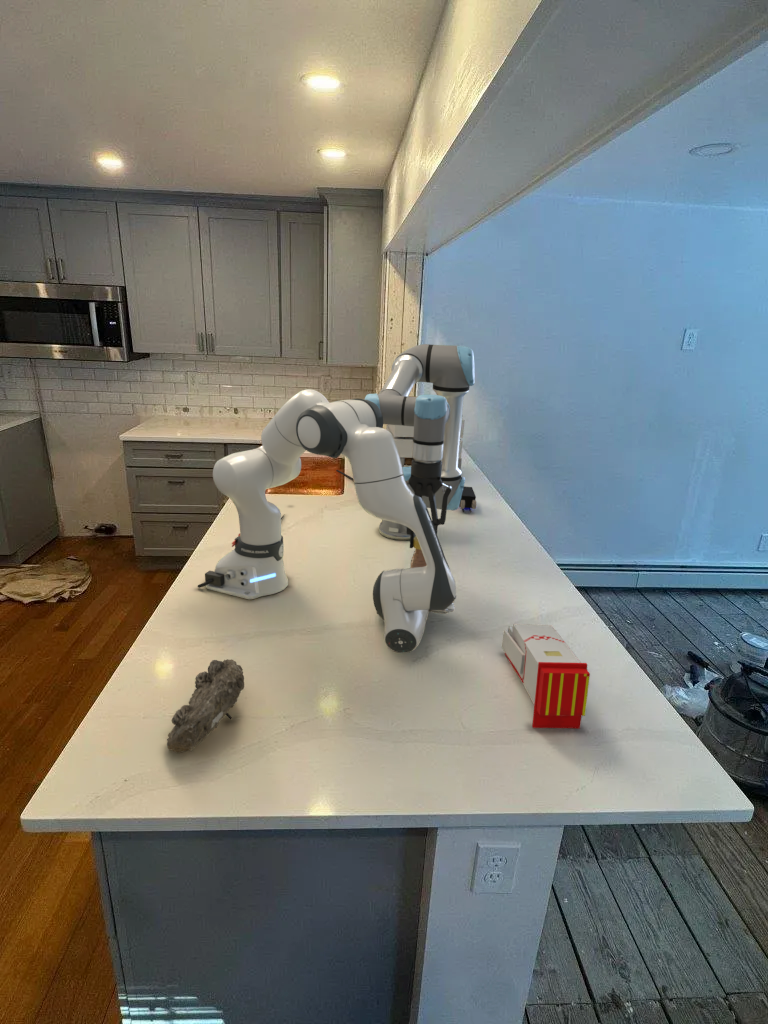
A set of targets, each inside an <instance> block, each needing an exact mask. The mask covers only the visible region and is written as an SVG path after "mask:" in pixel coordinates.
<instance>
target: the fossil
mask: <svg viewBox="0 0 768 1024" xmlns="http://www.w3.org/2000/svg"><path fill="white" fill-rule="evenodd" d="M243 670H244V669H243V667H242V665H240V664H237V662H236V661H235V660H234V659H232V658H231V659H227V658H226V659H224V660H223V661H222V660H217V659H212V660H211V661H210V663H209V665H208V666H207V671H201V672H199V673H198V674H197V675H196V676H195V680H194V684H195V685H194V687H195V689H194V690H193V693H192V694H191V697H190V698H189V700H188V704H184V705H182V706H181V707H180V709H177V710H176V711H175V713H174V715H173V716H172V718H171V723H172V724H173V727H172V730H171V731H170V732H168V734H167V738H166V741H167V742H166V745H167V749H168V750H169V751H173V752H174V753H176V754H178V753H182V752H188V751H189V752H192V751H193V750H195V748H196V747H197V746H199V744H200V743H201V742H203V741H204V740H205V739H206V738H207V737H208V736H209V735H210V734H211V733H212V732H214V730H215V729H217V727H218V726H219V724H220V722H221V721H222V720H223V719H224V718H225V716H226V717H227V719H229V720H233V717H232V715H230V714H229V710H230V709H231V708H234V706H235V704H236V703H237V702H238V699H239V697H240V695H241V693H242V691H243V690H245V689H244V688H245V675H244V671H243Z"/></svg>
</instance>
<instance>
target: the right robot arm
mask: <svg viewBox="0 0 768 1024" xmlns="http://www.w3.org/2000/svg"><path fill="white" fill-rule="evenodd" d="M391 364H392V365H391V372H390V373H389V376H388V378H387V380H386V381H385V383H384V385H383V386H382V388H381V390H379V393H376V392H375V393H368V394H366V395H365V397H364V399H365V400H369V401H371V402H373V403H375V404H376V405H377V406H378V407H379V409H380V411H381V413H382V416H383V425H387V424H388V425H403V426H413V427H414V436H413V446H412V457H413V458H414V459H413V460H412V463H411V466H404V467H402V468H403V474H404V479H405V481H406V484H407V486H408V487H409V489H410V490H411V492H412V493H413V494H414V495H417V496H419V497H421V498H422V500H423V501H424V503H425V505H426V507H427V509H430V517H431V519H432V522H433V525H434V527H435V530H436V533H437V534H438V531H439V530H438V528H439V526H444V525H445V524H446V520H447V511H456V510H458V509H459V508H460V507H459V505H460V500H461V496H462V492H463V487H464V486H465V483H466V477H465V476H462V475H463V474H462V469H461V470H460V469H459V468H458V457H459V445H460V439H461V438H460V434H461V422H462V419H463V410H464V409H463V408H464V398H465V395H467V394H468V393H469V392H470V387H473V386H474V385H475V379H476V377H475V373H476V371H475V370H476V369H475V354H474V350H473V349H472V348H471V347H470V346H463V345H455V344H454V345H451V344H450V345H449V344H430V343H429V344H428V343H423V344H417V345H415V346H412V347H410V348H407V349H406V350H404V351H402V352H400V354H398V355H397V356H396V357H395V359H394V361H393V363H391ZM417 383H426V384H427V383H430V384H432V391H433V392H434V393H435V394H430V393H429V394H419V395H418V397H417V396H415V397H408V396H410V393H411V392H412V389H413V387H414V386H415V384H417ZM335 472H337V473H339V474H341V475H343V476H345V477H346V478H348V479H350V480H351V481H353V482H354V480H353V477H352V476H350V475H348V474H347V473H344V472H343V471H342V470H341V471H340V470H339V469H336V471H335ZM438 510H440V518H439V514H438ZM378 533H379V534H380V535H381V536H382V537H385V538H387V539H389V540H395V541H409V549H413V548H414V547H413V540H414V537H416V535H415V533H414V532H413V531H412V530H411V529H410V528H408V527H406V526H404V525H402V524H399V523H396V522H392V521H387V520H383V519H381V522H379V525H378Z"/></svg>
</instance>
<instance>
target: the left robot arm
mask: <svg viewBox="0 0 768 1024" xmlns="http://www.w3.org/2000/svg"><path fill="white" fill-rule="evenodd" d="M383 427H384V424H383V416H382V413H381V411H380V409H379V407H378V406H377V405H376V404H375V403H373V402H371V401H369V400H365V398H351V399H341V400H340V399H339V400H335V401H331V402H330V401H329V400H328V398H327V397H325V396H324V394H322V393H321V392H320V391H318V390H316V389H313V388H306V389H302V390H299V392H297V393H296V394H294V395H293V396H292V397H291V398H289V399H288V400H287V401H286V402H285V403H284V404H283V405H282V406H281V407H280V408H279V410H277V412H276V413H275V414H274V415H273V417H272V418H271V419H270V420H269V422H268V423H267V424H266V426H265V427H264V428H263V429H262V432H261V434H260V438H261V439H260V441H261V446H259V447H256V448H253V449H247V450H242V451H238V452H237V451H236V452H232V453H231V454H228V455H226V456H224V457H222V458H220V459H218V460H217V461H216V462H215V464H214V465H213V468H212V480H213V483H214V486H215V487H216V489H217V490H218V492H220V493H221V494H222V495H224V496H225V497H227V498H229V499H230V501H231V502H232V503H233V504H234V506H235V508H236V511H237V515H238V523H239V533H238V535H237V536H236V537H235V538H234V540H233V541H232V542H231V547H232V548H233V547H234V548H233V549H231V551H229V552H227V553H226V554H224V556H222V557H221V558H220V559H219V560H218V561H217V562H216V565H215V568H214V571H213V570H208V571H207V572H205V573H204V580H205V581H204V582H202V583H199V584H197V588H198V589H200V588H203V587H205V588H206V589H208V590H211V591H215V592H218V593H222V594H227V595H230V596H233V597H238V598H242V599H245V600H254V599H257V598H260V597H265V596H270V595H275V594H277V593H279V592H283V590H286V588H287V587H288V586H289V579H288V577H287V573H286V569H285V562H284V553H285V544H284V536H283V535H282V520H281V518H282V512H281V510H280V508H279V507H278V506H277V505H276V504H274V503H273V502H271V501H268V500H267V495H266V491H267V490H268V489H269V490H270V489H273V488H276V487H280V486H284V485H286V484H288V483H290V482H291V481H293V480H295V479H296V478H298V477H299V475H300V473H301V471H302V460H301V457H302V455H304V453H305V452H309V453H310V454H313V455H319V456H325V457H329V458H332V459H338V458H339V457H340V456H341V455H342V456H344V457H345V458H346V459H347V460H348V462H349V464H350V467H351V472H352V478H353V480H354V481H353V480H352V481H353V484H354V490H355V494H356V498H357V501H358V503H359V505H360V507H361V508H362V509H363V510H364V511H365V512H366V513H368V514H369V515H371V516H373V517H374V518H377V519H379V520H382V519H383V520H387V521H392V522H396V523H399V524H402V525H404V526H406V527H408V528H410V529H411V530H412V531H413V532H414V533H415V535H416V536H417V539H418V542H419V544H420V547H421V550H422V553H423V556H424V558H425V561H426V564H427V565H426V566H424V567H416V568H410V567H407V568H394V569H385V570H382V571H381V572H380V573H379V575H378V576H377V577H376V579H375V581H374V583H373V590H372V601H373V606H374V609H375V611H376V614H377V616H379V618H380V619H381V620H382V621H383V622H384V623H383V624H384V631H383V639H384V643H385V645H386V647H387V648H388V649H390V650H392V651H393V652H396V653H400V654H401V653H402V654H403V653H404V654H406V653H410V652H412V651H414V650H416V648H417V647H418V646H419V644H420V643H421V641H422V638H423V636H424V632H425V629H426V622H427V620H428V616H429V613H434V614H441V615H442V614H443V615H444V614H449V613H450V612H451V613H453V612H454V611H455V600H456V599H457V582H456V580H455V577H454V575H453V573H452V569H450V566H449V564H448V562H447V559H446V556H445V553H444V550H443V548H442V545H441V542H440V539H439V536H438V532H437V533H436V530H435V527H434V525H433V522H432V516H431V513H430V512H429V510H428V509H429V508H427V507H426V505H425V503H424V501H423V500H422V498H421V497H419V496H417V495H414V494H413V493H412V492H411V490H410V489H409V487H408V486H407V484H406V481H405V479H404V474H403V468H402V464H401V460H400V456H399V453H398V449H397V446H396V444H395V441H394V438H393V436H392V434H391V433H390V432H389V431H388V430H386V428H383Z"/></svg>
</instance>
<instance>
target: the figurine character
mask: <svg viewBox="0 0 768 1024" xmlns="http://www.w3.org/2000/svg"><path fill="white" fill-rule="evenodd" d="M476 498H477V496H476V493H475V491H474V489H473V487H472V486H465V485H464V487H463V492H462V496H461V500H460V505H459V507H458V508H459V509H461V511H462V513H465V511H469V514H471V513H473V511H472V510H475V509H476V508H477V500H476Z"/></svg>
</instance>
